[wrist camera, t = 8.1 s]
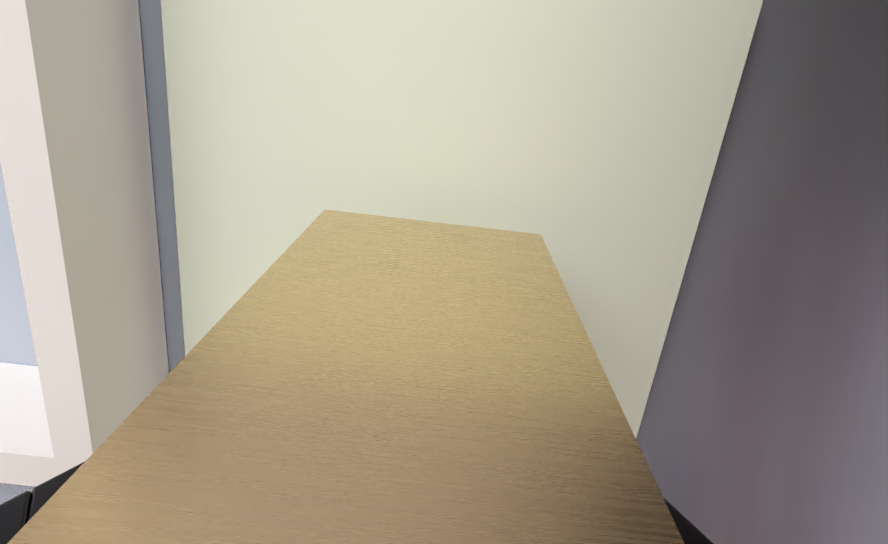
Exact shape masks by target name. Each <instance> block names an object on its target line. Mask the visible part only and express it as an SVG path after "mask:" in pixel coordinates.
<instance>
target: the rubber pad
mask: <svg viewBox="0 0 888 544" xmlns="http://www.w3.org/2000/svg"><path fill="white" fill-rule="evenodd" d="M762 3H763V0H161V12H162V27H163V41H164V56H165V70H166V85H167V99H168V114H169V129H170V143H171V158H172V172H173V187H174V201H175V216H176V230H177V245H178V259H179V274H180V288H181V303H182V317H183V332H184V346H185V356H186V355H187V354H188V353H189V352H190V351H191V350H192V348H193V347H194V346H195V345H196V344H197V343H198V342H199V341H200V340H201V339H202V338H203V337H204V336H205V335H206V334H207V333H208V332H209V331H210V330H211V328H212V327H213V326H214V325H215V324H216V323H217V322H218V321H219V320H220V319H221V318H222V317H223V316H224V315H225V314H226V313H227V312H228V311H229V310H230V308H231V307H232V306H233V305H234V304H235V303H236V302H237V301H238V300H239V299H240V298H241V297H242V296H243V295H244V294H245V293H246V292H247V291H248V290H249V288H250V287H251V286H252V285H253V284H254V283H255V282H256V281H257V280H258V279H259V278H260V277H261V276H262V275H263V274H264V273H265V272H266V271H267V270H268V268H269V267H270V266H271V265H272V264H273V263H274V262H275V261H276V260H277V259H278V258H279V257H280V256H281V255H282V254H283V253H284V252H285V251H286V250H287V248H288V247H289V246H290V245H291V244H292V243H293V242H294V241H295V240H296V239H297V238H298V237H299V236H300V235H301V234H302V233H303V232H304V231H305V230H306V228H307V227H308V226H309V225H310V224H311V223H312V222H313V221H314V220H315V219H316V218H317V217H318V216H319V215H320V214H321V213H322V212H323V211H324V210H333V211H342V212H351V213H359V214H368V215H377V216H385V217H394V218H403V219H411V220H420V221H429V222H437V223H446V224H455V225H463V226H472V227H481V228H489V229H498V230H507V231H515V232H524V233H533V234H541V236H542V238H543V240H544V242H545V244H546V247H547V249H548V251H549V253H550V255H551V257H552V260H553V262H554V264H555V266H556V268H557V270H558V272H559V275H560V277H561V279H562V281H563V283H564V285H565V288H566V290H567V292H568V294H569V296H570V298H571V300H572V303H573V305H574V307H575V309H576V311H577V313H578V315H579V318H580V320H581V322H582V324H583V326H584V328H585V331H586V333H587V335H588V337H589V339H590V341H591V343H592V346H593V348H594V350H595V352H596V354H597V356H598V359H599V361H600V363H601V365H602V367H603V369H604V371H605V374H606V376H607V378H608V380H609V382H610V384H611V387H612V389H613V391H614V393H615V395H616V397H617V399H618V402H619V404H620V406H621V408H622V410H623V412H624V415H625V417H626V419H627V421H628V423H629V425H630V427H631V430H632V432H633V434H634V436H635V438H636V437H637V434H638V430H639V427H640V423H641V420H642V417H643V413H644V410H645V406H646V403H647V399H648V396H649V392H650V389H651V386H652V382H653V379H654V375H655V372H656V368H657V365H658V361H659V358H660V355H661V351H662V348H663V344H664V341H665V337H666V334H667V330H668V327H669V323H670V320H671V317H672V313H673V310H674V306H675V303H676V299H677V296H678V292H679V289H680V286H681V282H682V279H683V275H684V272H685V268H686V265H687V261H688V258H689V255H690V251H691V248H692V244H693V241H694V237H695V234H696V230H697V227H698V224H699V220H700V217H701V213H702V210H703V206H704V203H705V199H706V196H707V192H708V189H709V186H710V182H711V179H712V175H713V172H714V168H715V165H716V161H717V158H718V155H719V151H720V148H721V144H722V141H723V137H724V134H725V130H726V127H727V124H728V120H729V117H730V113H731V110H732V106H733V103H734V99H735V96H736V92H737V89H738V86H739V82H740V79H741V75H742V72H743V68H744V65H745V61H746V58H747V55H748V51H749V48H750V44H751V41H752V37H753V34H754V30H755V27H756V24H757V20H758V17H759V13H760V10H761V6H762Z"/></svg>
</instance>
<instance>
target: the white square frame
mask: <svg viewBox="0 0 888 544" xmlns="http://www.w3.org/2000/svg"><path fill="white" fill-rule="evenodd" d="M0 162H1V168H2V173H3V179H4V184H5V190H6V195H7V201H8V206H9V212H10V217H11V223H12V228H13V234H14V239H15V245H16V250H17V256H18V261H19V267H20V272H21V278H22V283H23V289H24V294H25V300H26V305H27V311H28V316H29V322H30V327H31V333H32V338H33V344H34V349H35V355H36V360H37V366H30V365H21V364H12V363H3V362H0V483H7V484H16V485H25V486H34V487H36V486H38V485H40V484H42V483H44V482H46V481H48V480H50V479H51V478H53V477H55V476H57V475H59V474H61V473H63V472H65V471H67V470H69V469H71V468H73V467H75V466H77V465H79V464H80V463H82V462H84V461H86V460H87V459H88V458H89V457H90V456H91V455H92V454H93V453H94V452H95V451H96V450H97V448H98V447H99V446H100V445H101V444H102V443H103V442H104V441H105V440H106V439H107V438H108V437H109V436H110V435H111V434H112V433H113V432H114V431H115V430H116V428H117V427H118V426H119V425H120V424H121V423H122V422H123V421H124V420H125V419H126V418H127V417H128V416H129V415H130V414H131V413H132V412H133V411H134V410H135V408H136V407H137V406H138V405H139V404H140V403H141V402H142V401H143V400H144V399H145V398H146V397H147V396H148V395H149V394H150V393H151V392H152V391H153V390H154V388H155V387H156V386H157V385H158V384H159V383H160V382H161V381H162V380H163V379H164V378H165V377H166V376H167V375H168V374H169V369H168V357H167V344H166V332H165V320H164V308H163V296H162V284H161V272H160V259H159V247H158V235H157V223H156V211H155V199H154V186H153V174H152V162H151V150H150V138H149V126H148V113H147V101H146V89H145V77H144V65H143V53H142V40H141V28H140V16H139V4H138V0H0Z"/></svg>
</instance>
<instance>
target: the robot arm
mask: <svg viewBox="0 0 888 544" xmlns="http://www.w3.org/2000/svg"><path fill="white" fill-rule="evenodd" d="M84 462H85V461H84ZM84 462H82V463H80V464H79V465H77V466H75V467H73V468H71V469H69V470H67V471H65V472H63V473H61V474H59V475H57V476H55V477H53V478H51V479H50V480H48V481H46V482H44V483H42V484H40V485H38V486H36V487H35V488H34V489H33V491H32V493H31V492H30V491H26V492H24V493H22V494H20V495H18V496H16V497H14V498H13V499H11V500H9V501H7V502H5V503H3V504H1V505H0V544H7V543H8V542H9V541H10V540H11V539H12V538H13V537H14V536H15V535H16V534H17V533H18V532H19V531H20V530H21V528H22V527H23V526H24V525H25V524H26V523H27V522H28V521H29V520H30V519H31V518H32V517H33V516H34V515H35V514H36V513H37V512H38V511H39V510H40V508H41V507H42V506H43V505H44V504H45V503H46V502H47V501H48V500H49V499H50V498H51V497H52V496H53V495H54V494H55V493H56V492H57V491H58V490H59V488H60V487H61V486H62V485H63V484H64V483H65V482H66V481H67V480H68V479H69V478H70V477H71V476H72V475H73V474H74V473H75V472H76V471H77V470H78V468H79V467H80V466H81V465H82V464H83V463H84ZM664 501H665V503H666V505H667V507H668V509H669V511H670V514H671V516H672V518H673V520H674V522H675V524H676V526H677V529H678V531H679V533H680V535H681V537H682V539H683V542H684V544H713V543H712V542H711V541H710V540H709V539H708V538H707V537H706V536H705V535H704V534H702V533H701V532H700V531H699V530H698V529H697V528H696V527H695V526H694V525H693V524H692V523H691V522H689V521H688V520H687V519H686V518H685V517H684V516H683V515H682V514H681V513H680V512H679V511H678V510H676V509H675V508H674V507H673V506H672V505H671V504H670V503H669V502H668V501H667V500H666V499H664Z"/></svg>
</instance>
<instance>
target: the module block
mask: <svg viewBox="0 0 888 544" xmlns="http://www.w3.org/2000/svg"><path fill="white" fill-rule="evenodd" d="M7 544H684V542H683V539H682V537H681V535H680V533H679V531H678V529H677V526H676V524H675V522H674V520H673V518H672V516H671V514H670V511H669V509H668V507H667V505H666V503H665V501H664V498H663V496H662V494H661V492H660V490H659V488H658V486H657V483H656V481H655V479H654V477H653V475H652V473H651V470H650V468H649V466H648V464H647V462H646V460H645V458H644V455H643V453H642V451H641V449H640V447H639V445H638V442H637V440H636V438H635V436H634V434H633V432H632V430H631V427H630V425H629V423H628V421H627V419H626V417H625V415H624V412H623V410H622V408H621V406H620V404H619V402H618V399H617V397H616V395H615V393H614V391H613V389H612V387H611V384H610V382H609V380H608V378H607V376H606V374H605V371H604V369H603V367H602V365H601V363H600V361H599V359H598V356H597V354H596V352H595V350H594V348H593V346H592V343H591V341H590V339H589V337H588V335H587V333H586V331H585V328H584V326H583V324H582V322H581V320H580V318H579V315H578V313H577V311H576V309H575V307H574V305H573V303H572V300H571V298H570V296H569V294H568V292H567V290H566V288H565V285H564V283H563V281H562V279H561V277H560V275H559V272H558V270H557V268H556V266H555V264H554V262H553V260H552V257H551V255H550V253H549V251H548V249H547V247H546V244H545V242H544V240H543V238H542V236H541V234H533V233H524V232H515V231H507V230H498V229H489V228H481V227H472V226H463V225H455V224H446V223H437V222H429V221H420V220H411V219H403V218H394V217H385V216H377V215H368V214H359V213H351V212H342V211H333V210H324V211H323V212H322V213H321V214H320V215H319V216H318V217H317V218H316V219H315V220H314V221H313V222H312V223H311V224H310V225H309V226H308V227H307V228H306V230H305V231H304V232H303V233H302V234H301V235H300V236H299V237H298V238H297V239H296V240H295V241H294V242H293V243H292V244H291V245H290V246H289V247H288V248H287V250H286V251H285V252H284V253H283V254H282V255H281V256H280V257H279V258H278V259H277V260H276V261H275V262H274V263H273V264H272V265H271V266H270V267H269V268H268V270H267V271H266V272H265V273H264V274H263V275H262V276H261V277H260V278H259V279H258V280H257V281H256V282H255V283H254V284H253V285H252V286H251V287H250V288H249V290H248V291H247V292H246V293H245V294H244V295H243V296H242V297H241V298H240V299H239V300H238V301H237V302H236V303H235V304H234V305H233V306H232V307H231V308H230V310H229V311H228V312H227V313H226V314H225V315H224V316H223V317H222V318H221V319H220V320H219V321H218V322H217V323H216V324H215V325H214V326H213V327H212V328H211V330H210V331H209V332H208V333H207V334H206V335H205V336H204V337H203V338H202V339H201V340H200V341H199V342H198V343H197V344H196V345H195V346H194V347H193V348H192V350H191V351H190V352H189V353H188V354H187V355H186V356H185V357H184V358H183V359H182V360H181V361H180V362H179V363H178V364H177V365H176V366H175V367H174V368H173V370H172V371H171V372H170V373H169V374H168V375H167V376H166V377H165V378H164V379H163V380H162V381H161V382H160V383H159V384H158V385H157V386H156V387H155V388H154V390H153V391H152V392H151V393H150V394H149V395H148V396H147V397H146V398H145V399H144V400H143V401H142V402H141V403H140V404H139V405H138V406H137V407H136V408H135V410H134V411H133V412H132V413H131V414H130V415H129V416H128V417H127V418H126V419H125V420H124V421H123V422H122V423H121V424H120V425H119V426H118V427H117V428H116V430H115V431H114V432H113V433H112V434H111V435H110V436H109V437H108V438H107V439H106V440H105V441H104V442H103V443H102V444H101V445H100V446H99V447H98V448H97V450H96V451H95V452H94V453H93V454H92V455H91V456H90V457H89V458H88V459H87V460H86V461H85V462H84V463H83V464H82V465H81V466H80V467H79V468H78V470H77V471H76V472H75V473H74V474H73V475H72V476H71V477H70V478H69V479H68V480H67V481H66V482H65V483H64V484H63V485H62V486H61V487H60V488H59V490H58V491H57V492H56V493H55V494H54V495H53V496H52V497H51V498H50V499H49V500H48V501H47V502H46V503H45V504H44V505H43V506H42V507H41V508H40V510H39V511H38V512H37V513H36V514H35V515H34V516H33V517H32V518H31V519H30V520H29V521H28V522H27V523H26V524H25V525H24V526H23V527H22V528H21V530H20V531H19V532H18V533H17V534H16V535H15V536H14V537H13V538H12V539H11V540H10V541H9V542H8V543H7Z"/></svg>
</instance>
